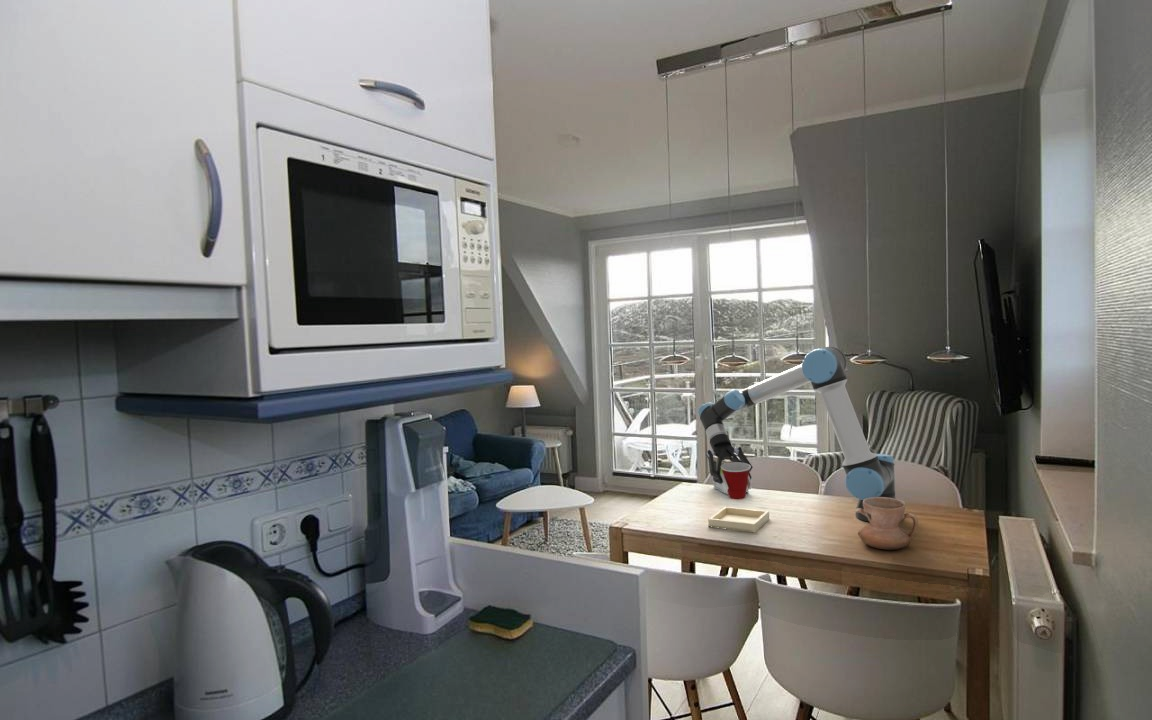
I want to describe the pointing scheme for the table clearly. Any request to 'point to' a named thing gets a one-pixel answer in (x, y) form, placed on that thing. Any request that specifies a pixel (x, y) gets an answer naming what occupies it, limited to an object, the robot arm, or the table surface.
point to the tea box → (715, 480)
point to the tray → (739, 519)
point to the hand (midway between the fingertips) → (738, 488)
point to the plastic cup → (736, 478)
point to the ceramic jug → (885, 523)
